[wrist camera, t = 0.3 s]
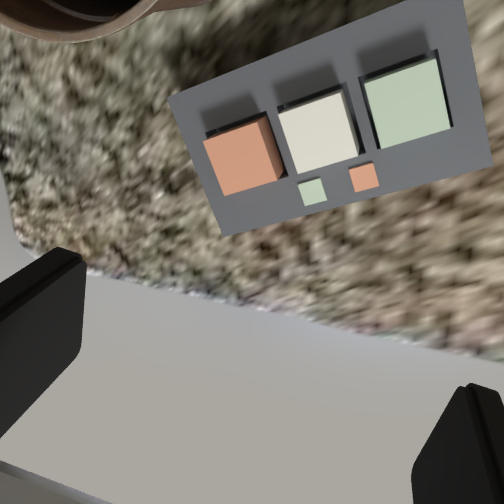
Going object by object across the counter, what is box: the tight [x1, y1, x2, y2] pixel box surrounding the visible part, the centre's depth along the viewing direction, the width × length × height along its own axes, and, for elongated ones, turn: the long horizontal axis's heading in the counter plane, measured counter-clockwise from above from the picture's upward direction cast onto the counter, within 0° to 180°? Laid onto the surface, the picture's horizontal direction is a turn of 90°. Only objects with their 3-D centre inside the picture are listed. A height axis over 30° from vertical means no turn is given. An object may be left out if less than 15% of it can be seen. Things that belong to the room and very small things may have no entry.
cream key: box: [278, 88, 360, 174], centre depth 33 cm, size 4×4×3 cm
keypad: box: [167, 0, 493, 237], centre depth 35 cm, size 21×12×4 cm, turn 111°
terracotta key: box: [203, 115, 285, 196], centre depth 35 cm, size 4×4×3 cm
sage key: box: [364, 56, 450, 149], centre depth 31 cm, size 4×4×3 cm
